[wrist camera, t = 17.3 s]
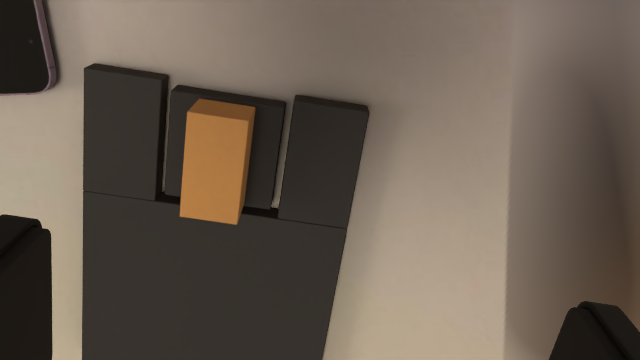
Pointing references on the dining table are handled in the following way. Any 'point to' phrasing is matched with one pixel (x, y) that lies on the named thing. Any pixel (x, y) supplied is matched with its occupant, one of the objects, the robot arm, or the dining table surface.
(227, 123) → the pad piece
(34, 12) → the smartphone
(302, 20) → the dining table surface
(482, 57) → the dining table surface
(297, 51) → the dining table surface
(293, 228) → the mat
